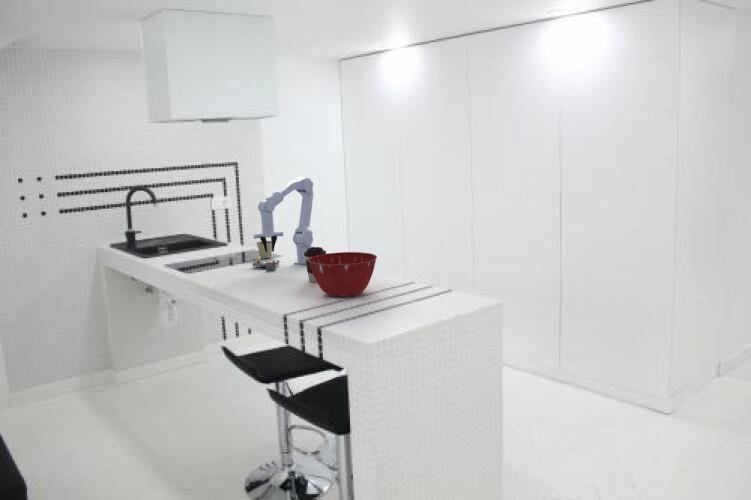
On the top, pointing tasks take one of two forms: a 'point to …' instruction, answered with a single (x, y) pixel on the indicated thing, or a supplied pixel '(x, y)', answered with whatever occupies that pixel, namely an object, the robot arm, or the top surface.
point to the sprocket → (263, 262)
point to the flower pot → (262, 249)
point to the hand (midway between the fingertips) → (269, 251)
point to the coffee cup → (310, 253)
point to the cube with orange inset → (270, 266)
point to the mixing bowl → (343, 272)
